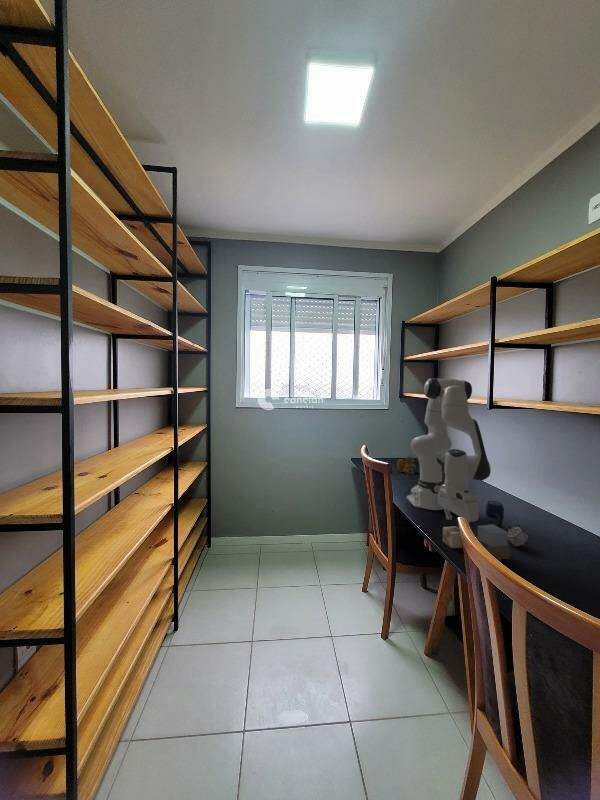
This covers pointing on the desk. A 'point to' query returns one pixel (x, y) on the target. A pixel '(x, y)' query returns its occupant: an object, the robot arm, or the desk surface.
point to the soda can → (494, 514)
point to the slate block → (492, 535)
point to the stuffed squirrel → (406, 464)
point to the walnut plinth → (498, 551)
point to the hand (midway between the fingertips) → (456, 523)
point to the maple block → (452, 537)
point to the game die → (517, 536)
